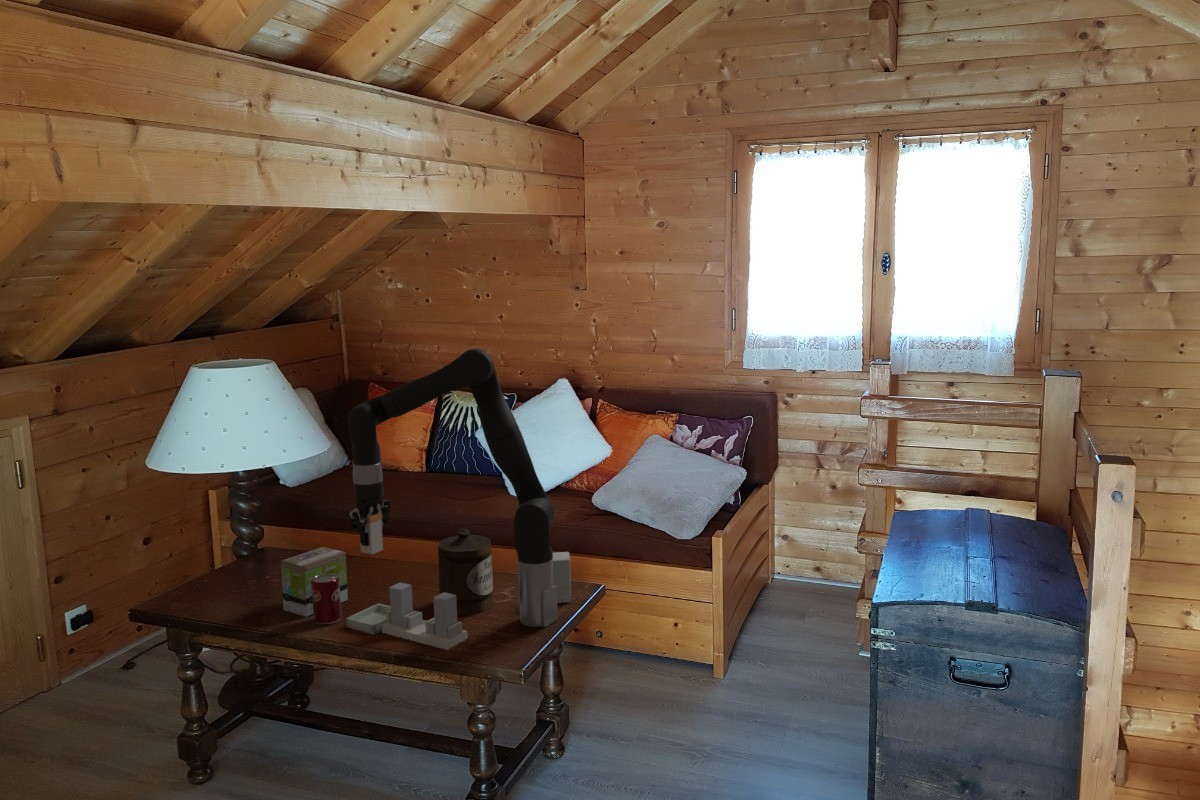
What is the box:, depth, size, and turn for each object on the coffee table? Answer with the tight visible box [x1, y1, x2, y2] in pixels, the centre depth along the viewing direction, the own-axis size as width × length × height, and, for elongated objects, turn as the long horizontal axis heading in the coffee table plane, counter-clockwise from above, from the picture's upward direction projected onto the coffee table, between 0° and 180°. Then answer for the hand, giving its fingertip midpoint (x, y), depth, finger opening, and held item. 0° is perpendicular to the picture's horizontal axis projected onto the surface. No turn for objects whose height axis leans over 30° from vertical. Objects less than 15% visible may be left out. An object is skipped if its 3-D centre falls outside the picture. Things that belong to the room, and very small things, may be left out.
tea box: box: [280, 546, 349, 618], centre depth 261 cm, size 15×10×15 cm
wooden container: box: [437, 528, 494, 615], centre depth 259 cm, size 15×15×22 cm
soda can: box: [311, 574, 343, 625], centre depth 251 cm, size 7×7×12 cm
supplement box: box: [553, 551, 572, 604], centre depth 263 cm, size 7×7×13 cm
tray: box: [345, 603, 391, 635], centre depth 249 cm, size 10×12×2 cm
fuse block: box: [381, 582, 469, 651], centre depth 239 cm, size 22×8×12 cm, turn 59°
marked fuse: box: [360, 513, 384, 555], centre depth 245 cm, size 4×4×10 cm
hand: (371, 542), depth 246 cm, fingers closed on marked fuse, 4 cm apart
